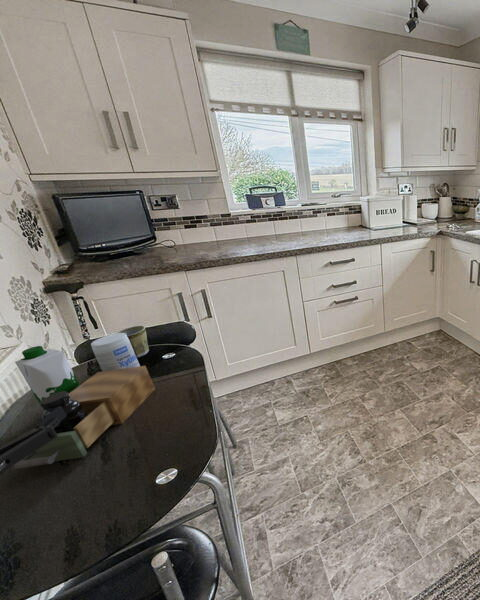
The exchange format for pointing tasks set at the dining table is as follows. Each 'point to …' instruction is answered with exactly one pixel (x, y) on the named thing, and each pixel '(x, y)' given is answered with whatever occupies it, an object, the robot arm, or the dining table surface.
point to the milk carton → (47, 372)
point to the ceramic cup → (137, 339)
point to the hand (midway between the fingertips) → (25, 418)
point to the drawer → (73, 437)
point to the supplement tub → (114, 352)
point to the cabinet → (116, 390)
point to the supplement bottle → (70, 408)
